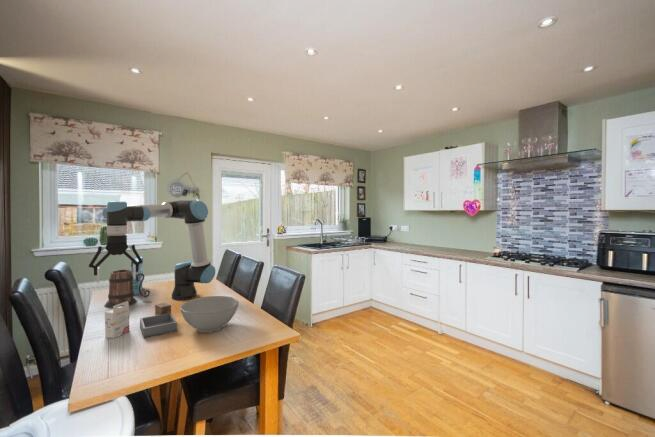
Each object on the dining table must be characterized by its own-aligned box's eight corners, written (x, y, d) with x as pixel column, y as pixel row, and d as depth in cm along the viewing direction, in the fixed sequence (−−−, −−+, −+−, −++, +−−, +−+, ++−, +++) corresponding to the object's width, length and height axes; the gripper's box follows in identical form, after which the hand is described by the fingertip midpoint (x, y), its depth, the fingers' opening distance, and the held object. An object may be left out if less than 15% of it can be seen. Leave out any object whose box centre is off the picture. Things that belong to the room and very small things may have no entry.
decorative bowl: (181, 321, 153) (182, 298, 153) (235, 315, 164) (235, 293, 163) (178, 343, 128) (178, 316, 128) (241, 334, 139) (241, 309, 139)
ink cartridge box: (121, 330, 142) (121, 299, 141) (129, 331, 141) (129, 300, 140) (104, 337, 133) (104, 305, 133) (113, 338, 132) (113, 306, 132)
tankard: (101, 309, 168) (101, 275, 168) (106, 301, 183) (106, 269, 182) (149, 304, 180) (149, 271, 179) (150, 296, 195) (150, 266, 194)
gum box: (135, 288, 214) (134, 257, 213) (143, 287, 216) (143, 256, 216) (130, 295, 197) (130, 261, 196) (139, 294, 199) (139, 261, 198)
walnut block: (165, 316, 160) (165, 302, 159) (171, 320, 155) (171, 305, 155) (155, 319, 156) (155, 304, 155) (161, 322, 151) (161, 307, 151)
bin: (170, 321, 153) (170, 312, 153) (176, 331, 141) (176, 322, 141) (140, 327, 145) (140, 318, 145) (143, 338, 133) (143, 328, 133)
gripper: (81, 236, 125) (81, 285, 125) (149, 234, 140) (149, 278, 141) (82, 235, 131) (82, 282, 131) (147, 233, 146) (147, 275, 147)
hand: (116, 280), depth 136 cm, fingers open, 13 cm apart
